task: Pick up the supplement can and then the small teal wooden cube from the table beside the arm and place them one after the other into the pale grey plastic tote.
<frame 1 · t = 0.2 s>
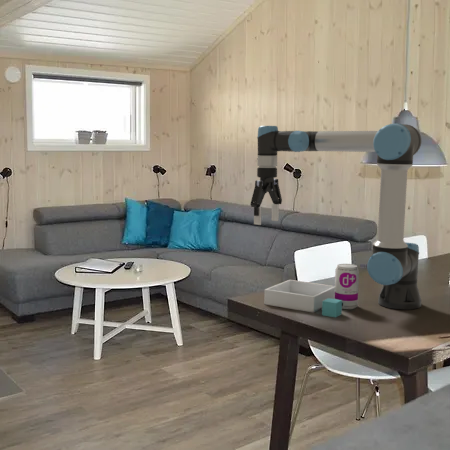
hand: (266, 222, 242), 28 cm above the table, fingers open, 13 cm apart
supplement can: (345, 307, 227), on the table
cube: (331, 314, 217), on the table
tote: (300, 302, 232), on the table
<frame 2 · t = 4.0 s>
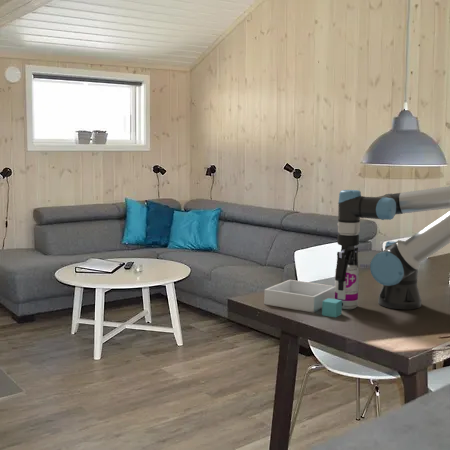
hand: (346, 296, 227), 4 cm above the table, fingers closed on supplement can, 8 cm apart
supplement can: (345, 307, 227), on the table, touching gripper
everything else where it was.
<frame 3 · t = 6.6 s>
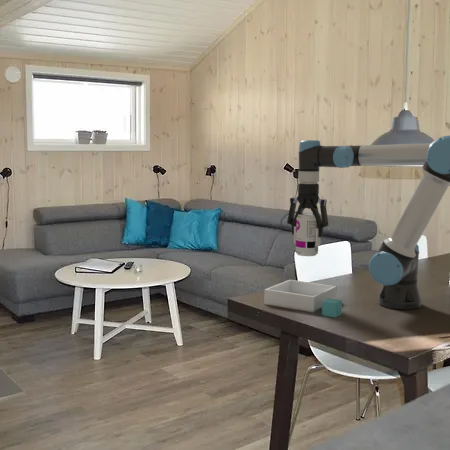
hand: (307, 244, 233), 21 cm above the table, fingers closed on supplement can, 8 cm apart
supplement can: (306, 255, 233), point 17 cm above the table, touching gripper
everything else where it was.
when the fingers open (7 cm above the table, at t = 9.6 s): supplement can drops 2 cm, resting on tote.
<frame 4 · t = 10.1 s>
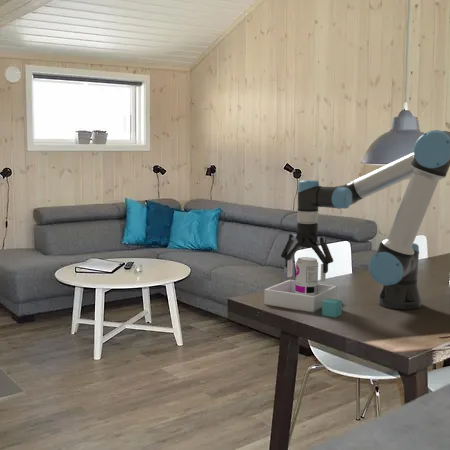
hand: (306, 279, 235), 8 cm above the table, fingers open, 13 cm apart
supplement can: (306, 299, 236), resting on tote
everything else where it was.
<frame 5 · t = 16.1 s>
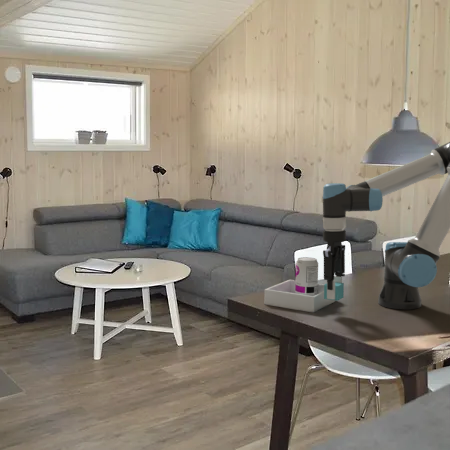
hand: (334, 296, 216), 6 cm above the table, fingers closed on cube, 5 cm apart
cube: (333, 298, 216), point 6 cm above the table, touching gripper
everything else where it was.
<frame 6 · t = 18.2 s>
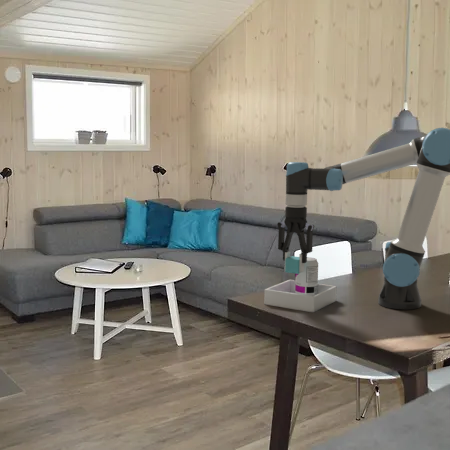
hand: (294, 270, 226), 13 cm above the table, fingers closed on cube, 5 cm apart
cube: (294, 271, 226), point 12 cm above the table, touching gripper
everything else where it was.
when the fingers open (1 cm above the table, at t = 20.5 s): cube stays where it is, resting on tote.
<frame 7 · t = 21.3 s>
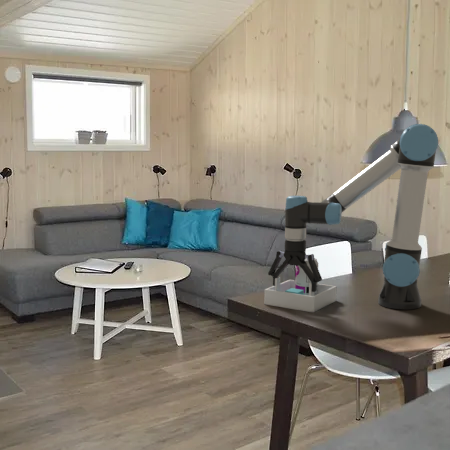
hand: (294, 297, 227), 3 cm above the table, fingers open, 13 cm apart
cube: (294, 303, 228), point 1 cm above the table, touching tote
everything else where it was.
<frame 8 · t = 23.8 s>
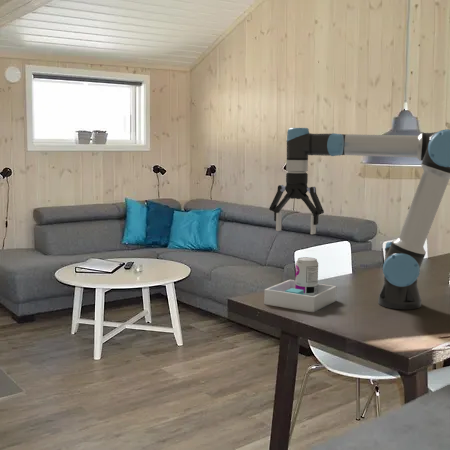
hand: (295, 232, 224), 27 cm above the table, fingers open, 13 cm apart
nothing on the table moved.
at the end: supplement can inside the target area (4.0 cm from its centre), resting on tote; cube inside the target area (5.3 cm from its centre), point 0.6 cm above the table; supplement can tilted 0° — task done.
